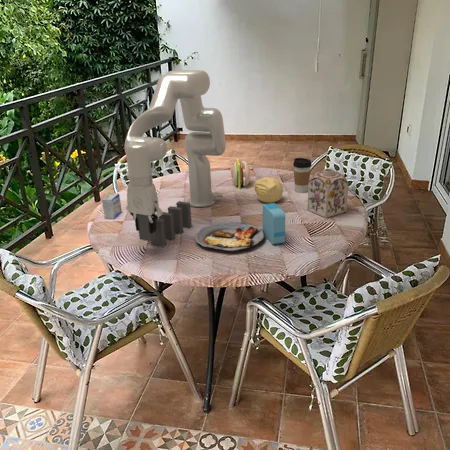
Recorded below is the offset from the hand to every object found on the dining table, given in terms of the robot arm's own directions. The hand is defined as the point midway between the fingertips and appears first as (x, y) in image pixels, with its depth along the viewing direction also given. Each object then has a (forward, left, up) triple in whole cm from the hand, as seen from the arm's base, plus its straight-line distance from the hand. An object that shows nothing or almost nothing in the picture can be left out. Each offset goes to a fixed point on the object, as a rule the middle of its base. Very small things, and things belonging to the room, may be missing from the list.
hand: (146, 230), depth 155 cm
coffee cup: (-78, -37, -9) cm, 87 cm away
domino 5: (-17, -17, -8) cm, 26 cm away
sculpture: (-59, -31, -9) cm, 67 cm away
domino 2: (-4, -4, -8) cm, 11 cm away
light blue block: (-45, +6, -9) cm, 46 cm away
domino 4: (-13, -13, -8) cm, 20 cm away
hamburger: (-55, -56, -9) cm, 79 cm away
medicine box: (+9, -40, -9) cm, 42 cm away
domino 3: (-9, -9, -8) cm, 15 cm away
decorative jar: (-76, -10, -9) cm, 77 cm away
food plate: (-30, +1, -9) cm, 31 cm away
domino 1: (0, 0, -3) cm, 3 cm away
